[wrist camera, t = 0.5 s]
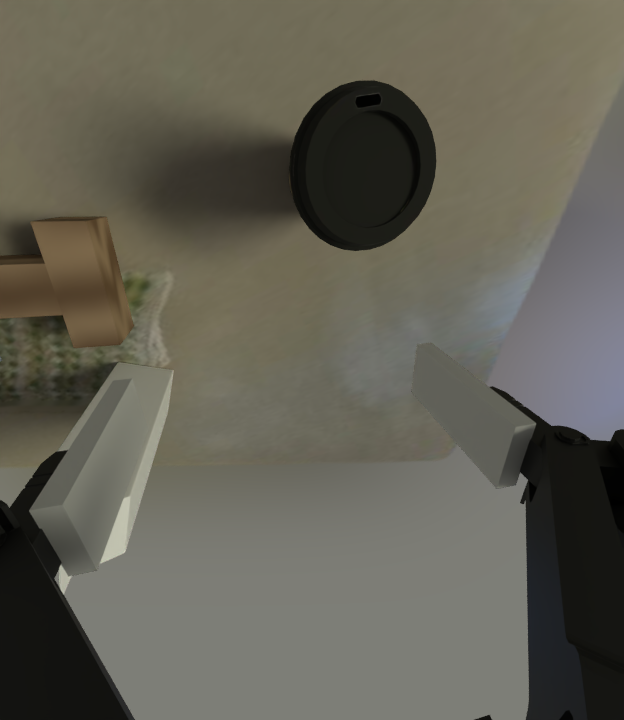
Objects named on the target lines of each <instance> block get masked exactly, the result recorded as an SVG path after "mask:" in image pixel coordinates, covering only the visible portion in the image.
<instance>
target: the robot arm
mask: <svg viewBox="0 0 624 720" xmlns="http://www.w3.org/2000/svg"><path fill="white" fill-rule="evenodd" d="M411 392H412V393H413V394H414V396H415V397H416V398H417V399H418V400H419V401H420V402H421V404H422V405H423V406H424V407H425V408H426V409H427V410H428V412H429V413H430V414H431V415H432V416H433V417H434V418H435V419H436V421H437V422H438V423H439V424H440V425H441V426H442V427H443V429H444V430H445V431H446V432H447V433H448V434H449V435H450V436H451V438H452V439H453V440H454V441H455V442H456V443H457V444H458V446H459V447H460V448H461V449H462V450H463V451H464V452H465V453H466V455H467V456H468V457H469V458H470V459H471V460H472V461H473V462H474V464H475V465H476V466H477V467H478V468H479V469H480V470H481V472H482V473H483V474H484V475H485V476H486V477H487V478H488V479H489V481H490V482H491V483H492V484H493V485H494V486H495V487H496V489H499V488H504V487H509V486H514V485H516V483H517V480H518V477H519V474H520V472H521V473H522V474H523V475H524V476H525V477H526V478H527V479H528V482H527V485H526V488H525V490H524V493H523V496H522V499H521V502H520V503H522V504H524V502H525V500H526V542H527V543H526V546H527V599H528V600H527V601H528V602H527V603H528V654H529V655H528V656H529V658H528V659H529V705H528V711H527V717H526V720H624V430H623V429H621V430H617V431H615V433H614V435H613V437H612V439H611V441H598V440H590V438H588V437H587V436H586V435H584V434H583V433H581V432H579V431H577V430H575V429H572V428H569V427H564V426H551V425H549V424H548V423H547V422H545V421H544V420H543V419H541V418H540V417H539V416H537V415H536V414H535V413H533V412H532V411H531V410H529V409H528V408H526V407H524V406H523V405H522V404H521V403H520V402H518V401H516V400H515V399H514V398H513V397H511V396H510V395H509V394H508V393H506V392H504V391H502V390H500V389H497V388H495V387H488V386H487V385H486V384H484V383H483V382H482V381H481V380H479V379H478V378H477V377H475V376H474V375H473V374H471V373H470V372H469V371H468V370H466V369H465V368H464V367H462V366H461V365H460V364H458V363H457V362H456V361H454V360H453V359H452V358H451V357H449V356H448V355H447V354H445V353H444V352H443V351H441V350H440V349H439V348H438V347H436V346H435V345H434V344H432V343H425V344H417V348H416V357H415V365H414V373H413V382H412V390H411ZM147 433H148V427H147V423H146V420H145V417H144V414H143V411H142V407H141V404H140V401H139V398H138V395H137V392H136V388H135V385H134V382H133V379H132V378H131V379H123V380H114V381H113V382H112V383H111V385H110V386H109V388H108V389H107V391H106V392H105V394H104V395H103V397H102V399H101V400H100V402H99V403H98V405H97V406H96V408H95V409H94V411H93V412H92V414H91V416H90V417H89V419H88V420H87V422H86V423H85V425H84V426H83V428H82V429H81V431H80V433H79V434H78V436H77V437H76V439H75V440H74V442H73V443H72V445H71V446H70V448H69V450H65V451H58V452H55V453H54V454H52V455H51V456H50V457H49V458H48V459H46V460H45V461H44V462H43V463H41V465H40V466H39V468H38V469H37V471H36V472H35V473H34V475H33V478H31V479H30V480H29V482H28V483H27V484H26V486H25V489H23V490H22V491H21V493H20V494H19V496H18V497H17V498H16V500H15V501H14V503H13V504H12V506H11V507H10V508H9V507H8V505H7V504H6V503H4V502H3V501H1V500H0V720H135V719H134V718H133V716H132V714H131V712H130V710H129V709H128V707H127V705H126V703H125V702H124V700H123V698H122V697H121V695H120V693H119V691H118V689H117V688H116V686H115V684H114V682H113V681H112V679H111V677H110V675H109V673H108V672H107V670H106V668H105V666H104V665H103V663H102V661H101V660H100V658H99V656H98V654H97V652H96V651H95V649H94V647H93V645H92V644H91V642H90V640H89V638H88V637H87V635H86V633H85V631H84V630H83V628H82V626H81V624H80V623H79V621H78V619H77V617H76V616H75V614H74V612H73V610H72V609H71V607H70V605H69V603H68V602H67V600H66V598H65V596H64V595H63V593H62V591H61V589H60V588H59V586H58V584H57V583H56V581H55V579H54V578H55V576H56V574H57V572H58V570H59V567H60V565H62V567H63V568H64V570H65V572H66V573H67V575H68V577H69V576H74V575H79V574H83V573H88V572H93V571H97V569H98V567H99V564H100V562H101V559H102V556H103V553H104V551H105V548H106V545H107V542H108V540H109V537H110V534H111V531H112V529H113V526H114V523H115V521H116V518H117V515H118V512H119V510H120V507H121V504H122V501H123V499H124V496H125V493H126V490H127V488H128V485H129V482H130V479H131V477H132V474H133V471H134V468H135V466H136V463H137V460H138V457H139V455H140V452H141V449H142V446H143V444H144V441H145V438H146V435H147ZM475 720H492V719H491V717H490V715H487V716H485V717H481V718H479V719H475Z"/></svg>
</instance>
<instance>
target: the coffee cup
mask: <svg viewBox="0 0 624 720" xmlns="http://www.w3.org/2000/svg"><path fill="white" fill-rule="evenodd" d="M435 169H436V149H435V143H434V139H433V134H432V131H431V129H430V126H429V124H428V122H427V119H426V118H425V116H424V115H423V113H422V112H421V110H420V109H419V108H418V106H417V105H416V104H415V103H414V102H413V101H412V100H411V99H410V98H409V97H408V96H406V95H405V94H404V93H403V92H402V91H400V90H398V89H396V88H394V87H393V86H391V85H389V84H385V83H382V82H378V81H355V82H351V83H348V84H344V85H340V86H339V87H337V88H335V89H333V90H332V91H330V92H328V93H326V94H325V95H324V96H323V97H322V98H321V99H320V100H319V101H317V102H316V103H315V104H314V105H313V106H312V108H311V109H310V111H309V112H308V113H307V115H306V116H305V117H304V119H303V121H302V123H301V125H300V127H299V129H298V131H297V133H296V135H295V139H294V143H293V146H292V150H291V156H290V167H289V184H290V189H291V193H292V195H293V199H294V203H295V205H296V207H297V209H298V211H299V214H300V216H301V218H302V219H303V220H304V222H305V223H306V225H307V226H308V227H309V229H310V230H311V231H312V232H313V233H314V234H315V235H317V236H318V237H319V238H320V239H322V240H323V241H325V242H326V243H328V244H330V245H332V246H335V247H337V248H340V249H344V250H352V251H359V250H369V249H373V248H376V247H379V246H382V245H384V244H386V243H388V242H390V241H392V240H394V239H395V238H396V237H397V236H399V235H400V234H401V233H402V232H404V231H405V230H406V229H407V228H408V227H409V226H410V224H411V223H412V222H413V221H414V220H415V219H416V218H417V216H418V215H419V214H420V212H421V210H422V209H423V207H424V206H425V204H426V202H427V199H428V197H429V195H430V192H431V189H432V185H433V181H434V178H435Z"/></svg>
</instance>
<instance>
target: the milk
mask: <svg viewBox="0 0 624 720" xmlns="http://www.w3.org/2000/svg"><path fill="white" fill-rule="evenodd" d="M131 378H132V379H133V382H134V385H135V388H136V392H137V395H138V398H139V401H140V404H141V407H142V411H143V414H144V417H145V420H146V423H147V427H148V433H147V435H146V438H145V441H144V444H143V446H142V449H141V452H140V455H139V457H138V460H137V463H136V466H135V468H134V471H133V474H132V477H131V479H130V482H129V485H128V488H127V490H126V493H125V496H124V499H123V501H122V504H121V507H120V510H119V512H118V515H117V518H116V521H115V523H114V526H113V529H112V531H111V534H110V537H109V540H108V542H107V545H106V548H105V551H104V553H103V556H102V559H101V562H100V564H101V563H103V562H105V561H107V560H110V559H112V558H114V557H116V556H119V555H121V554H123V553H125V550H126V548H127V544H128V541H129V537H130V534H131V531H132V528H133V525H134V522H135V518H136V515H137V512H138V508H139V505H140V502H141V498H142V495H143V492H144V488H145V485H146V482H147V479H148V475H149V472H150V469H151V466H152V462H153V459H154V456H155V453H156V449H157V446H158V443H159V439H160V436H161V433H162V430H163V426H164V423H165V420H166V416H167V413H168V408H169V401H170V393H171V386H172V378H173V370H170V369H163V368H156V367H149V366H143V365H136V364H129V363H122V362H118V363H117V364H116V366H115V367H114V369H113V370H112V372H111V373H110V375H109V376H108V377H107V379H106V380H105V382H104V383H103V385H102V386H101V388H100V389H99V391H98V392H97V394H96V395H95V396H94V398H93V399H92V401H91V402H90V404H89V405H88V407H87V408H86V410H85V411H84V413H83V414H82V416H81V417H80V418H79V420H78V421H77V423H76V424H75V426H74V427H73V429H72V430H71V432H70V433H69V435H68V436H67V437H66V439H65V440H64V442H63V443H62V445H61V446H60V448H59V449H58V451H65V450H69V448H70V446H71V445H72V443H73V442H74V440H75V439H76V437H77V436H78V434H79V433H80V431H81V429H82V428H83V426H84V425H85V423H86V422H87V420H88V419H89V417H90V416H91V414H92V412H93V411H94V409H95V408H96V406H97V405H98V403H99V402H100V400H101V399H102V397H103V395H104V394H105V392H106V391H107V389H108V388H109V386H110V385H111V383H112V382H113V381H114V380H123V379H131ZM58 451H57V452H58ZM71 577H72V576H69V577H68V575H67V573H66V572H65V570H64V568H63V567H62V565H60V567H59V588H60V589H61V591H62V593H63V595H64V592H65V590H66V588H67V585H68V583H69V581H70V579H71Z"/></svg>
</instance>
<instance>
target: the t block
mask: <svg viewBox="0 0 624 720" xmlns="http://www.w3.org/2000/svg"><path fill="white" fill-rule="evenodd" d="M31 225H32V228H33V231H34V234H35V237H36V239H37V242H38V245H39V248H40V251H41V254H42V255H6V256H0V319H1V318H19V317H37V316H55V315H63V318H64V320H65V323H66V326H67V329H68V332H69V335H70V338H71V341H72V344H73V346H74V348H82V347H96V346H110V345H120V344H121V343H122V342H123V340H124V339H125V338H126V336H127V335H128V334H129V332H130V331H131V330H132V328H133V327H134V325H133V321H132V317H131V313H130V309H129V305H128V301H127V297H126V293H125V289H124V285H123V281H122V277H121V273H120V269H119V265H118V261H117V257H116V253H115V249H114V245H113V241H112V237H111V233H110V229H109V225H108V221H107V217H58V218H51V219H45V220H38V221H32V222H31Z"/></svg>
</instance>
